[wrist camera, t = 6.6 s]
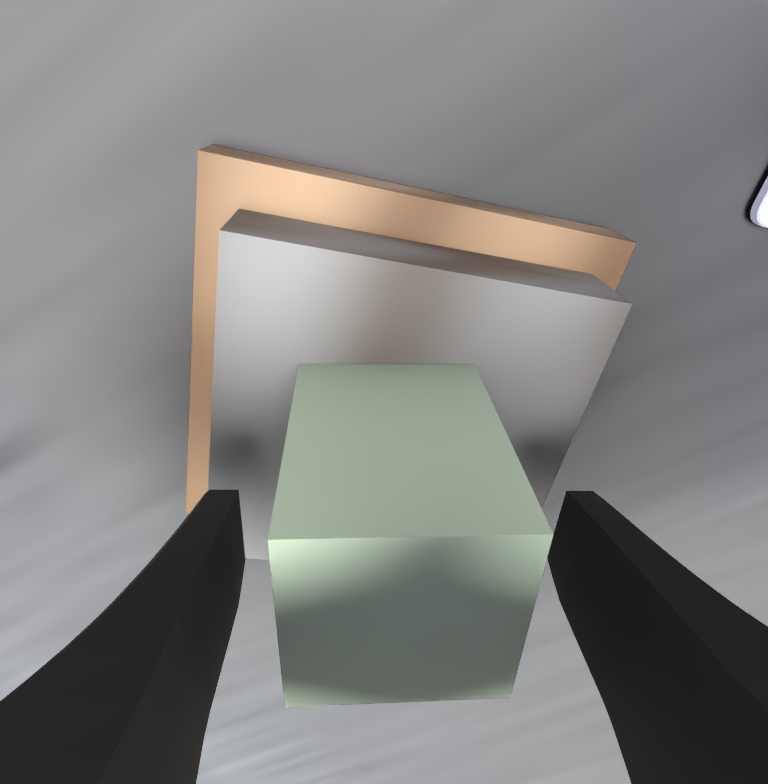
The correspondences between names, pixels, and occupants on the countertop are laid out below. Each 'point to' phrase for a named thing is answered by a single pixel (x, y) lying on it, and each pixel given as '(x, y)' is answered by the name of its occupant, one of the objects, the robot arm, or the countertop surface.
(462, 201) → the tower base
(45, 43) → the countertop surface
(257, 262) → the tower top
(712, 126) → the countertop surface
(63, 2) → the countertop surface
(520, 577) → the green block
